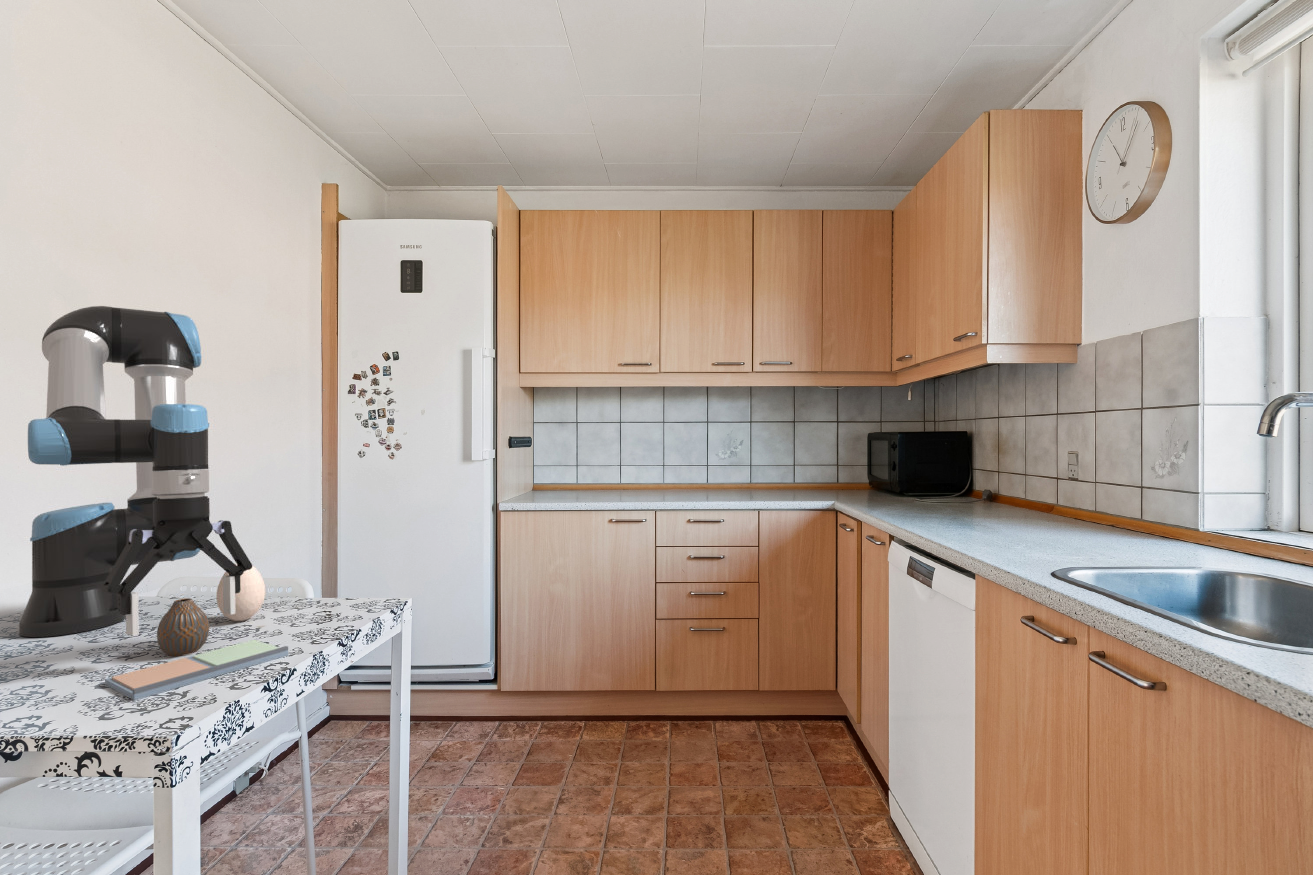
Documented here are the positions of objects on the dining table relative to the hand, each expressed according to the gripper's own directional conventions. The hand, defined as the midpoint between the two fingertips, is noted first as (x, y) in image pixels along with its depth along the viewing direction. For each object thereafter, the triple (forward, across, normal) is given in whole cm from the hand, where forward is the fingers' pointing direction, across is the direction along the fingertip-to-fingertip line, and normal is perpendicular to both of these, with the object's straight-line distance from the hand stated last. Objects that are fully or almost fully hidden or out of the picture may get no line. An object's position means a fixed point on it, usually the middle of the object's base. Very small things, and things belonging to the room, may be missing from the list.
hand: (183, 623), depth 102 cm
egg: (+5, +14, +13) cm, 20 cm away
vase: (+5, 0, +1) cm, 5 cm away
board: (+5, -2, -11) cm, 13 cm away
